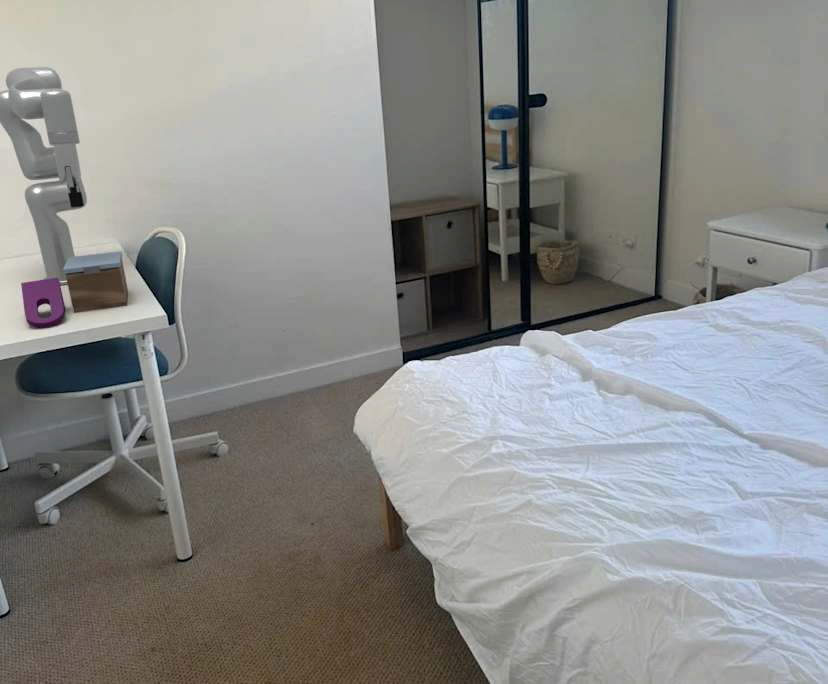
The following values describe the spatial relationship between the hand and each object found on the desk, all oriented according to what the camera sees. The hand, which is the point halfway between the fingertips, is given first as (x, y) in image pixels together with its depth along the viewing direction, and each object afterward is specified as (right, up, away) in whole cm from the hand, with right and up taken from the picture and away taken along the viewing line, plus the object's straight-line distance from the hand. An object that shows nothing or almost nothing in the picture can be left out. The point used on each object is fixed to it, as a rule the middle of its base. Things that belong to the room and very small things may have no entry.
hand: (77, 206), depth 206 cm
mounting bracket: (-7, -32, -3) cm, 33 cm away
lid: (+2, -16, +6) cm, 17 cm away
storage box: (+3, -26, +10) cm, 28 cm away
